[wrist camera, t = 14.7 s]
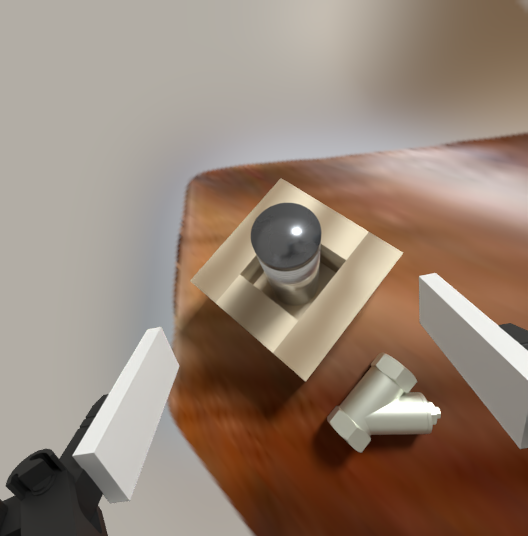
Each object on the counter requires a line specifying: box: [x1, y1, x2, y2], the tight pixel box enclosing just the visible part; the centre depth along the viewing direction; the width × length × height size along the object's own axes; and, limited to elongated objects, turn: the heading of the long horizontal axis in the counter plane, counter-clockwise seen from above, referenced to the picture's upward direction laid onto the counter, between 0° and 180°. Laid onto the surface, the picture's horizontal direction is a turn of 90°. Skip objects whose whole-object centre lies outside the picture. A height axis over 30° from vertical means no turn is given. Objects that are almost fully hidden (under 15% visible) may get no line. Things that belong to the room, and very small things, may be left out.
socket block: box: [190, 179, 403, 381], centre depth 30 cm, size 14×14×6 cm
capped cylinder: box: [251, 203, 322, 306], centre depth 26 cm, size 5×5×12 cm
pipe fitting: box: [327, 353, 441, 452], centre depth 26 cm, size 8×4×7 cm
